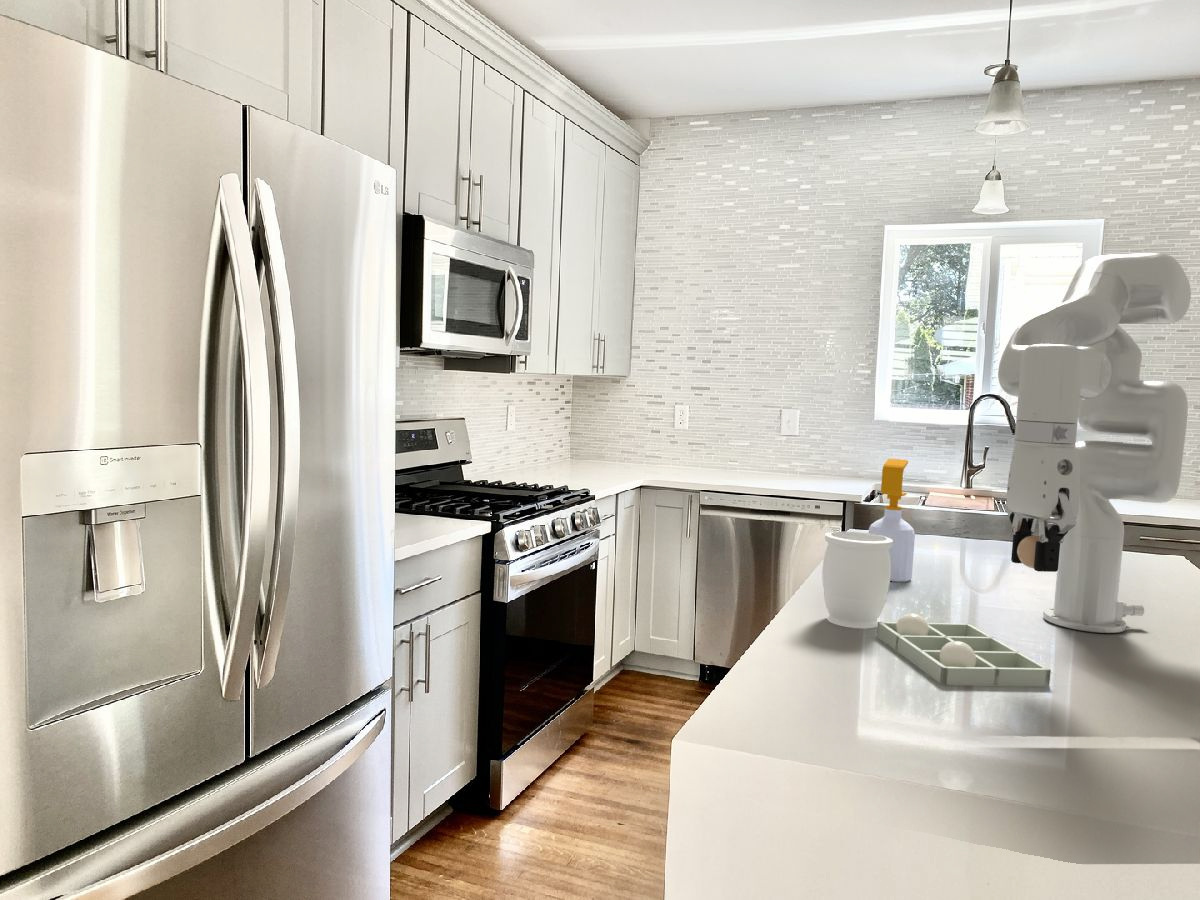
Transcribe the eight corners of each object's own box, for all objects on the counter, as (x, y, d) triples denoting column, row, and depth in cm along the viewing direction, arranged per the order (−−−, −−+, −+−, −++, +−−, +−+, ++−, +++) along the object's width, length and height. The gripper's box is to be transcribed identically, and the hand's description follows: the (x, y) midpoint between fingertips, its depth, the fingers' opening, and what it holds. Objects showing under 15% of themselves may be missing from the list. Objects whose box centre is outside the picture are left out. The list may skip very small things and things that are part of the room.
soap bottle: (915, 577, 186) (924, 460, 184) (905, 584, 178) (914, 462, 176) (872, 570, 191) (880, 456, 189) (860, 577, 183) (868, 459, 181)
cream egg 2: (964, 669, 122) (966, 636, 122) (981, 681, 117) (984, 647, 117) (931, 669, 122) (934, 636, 121) (947, 680, 117) (950, 646, 117)
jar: (887, 623, 148) (893, 534, 147) (885, 640, 138) (892, 544, 137) (821, 615, 152) (827, 528, 150) (815, 631, 142) (822, 538, 141)
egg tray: (967, 643, 138) (968, 623, 138) (1048, 693, 117) (1050, 669, 117) (876, 642, 137) (877, 621, 137) (941, 692, 116) (943, 668, 115)
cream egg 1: (919, 639, 136) (921, 609, 136) (933, 648, 131) (935, 618, 131) (890, 639, 136) (892, 609, 135) (902, 648, 131) (905, 617, 131)
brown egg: (1039, 565, 126) (1042, 532, 125) (1059, 572, 121) (1062, 538, 121) (1008, 564, 125) (1011, 532, 125) (1028, 571, 121) (1031, 538, 120)
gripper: (1113, 440, 114) (1100, 581, 115) (1033, 432, 130) (1023, 555, 132) (1058, 438, 113) (1046, 580, 114) (985, 430, 130) (975, 554, 131)
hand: (1034, 565), depth 123 cm, fingers closed on brown egg, 4 cm apart
